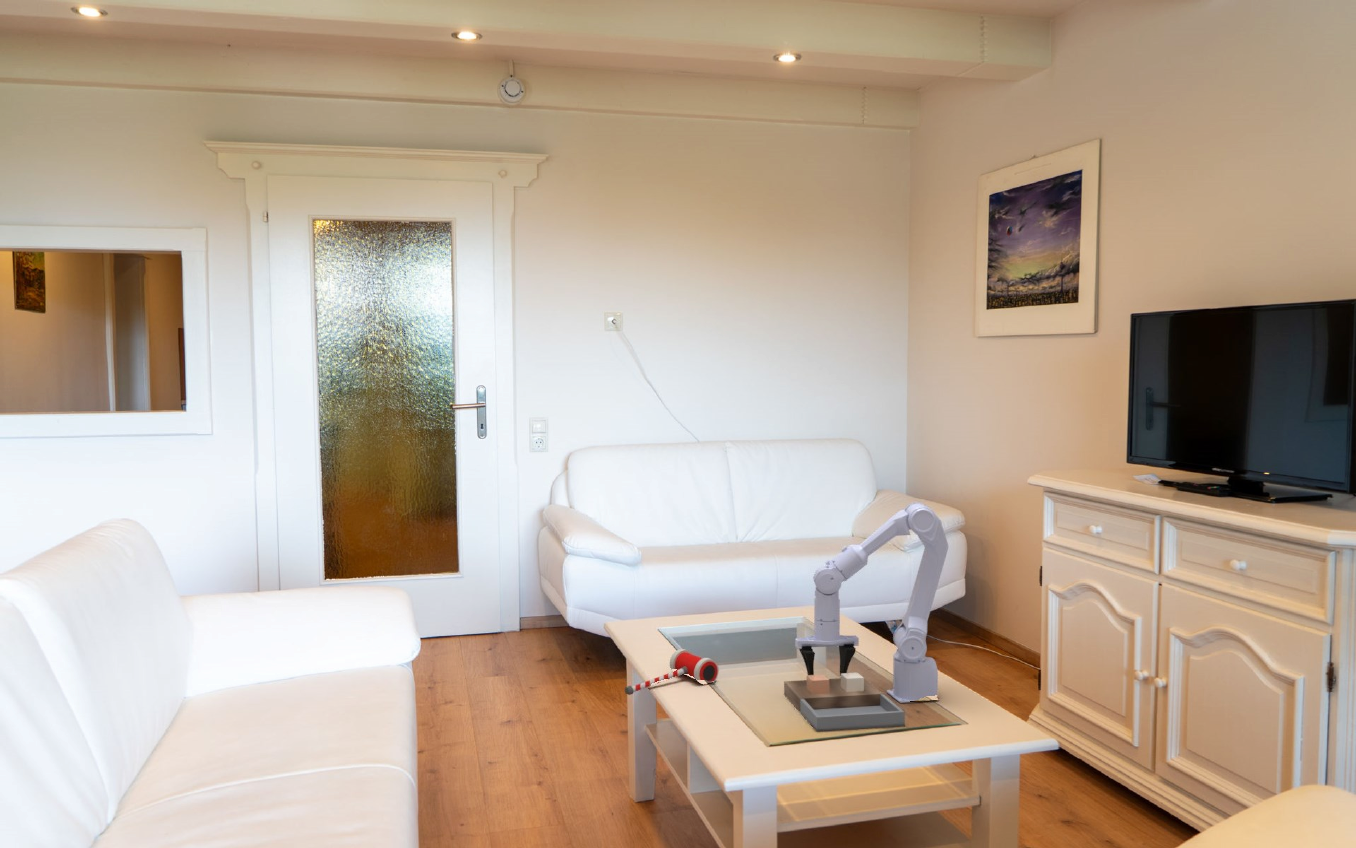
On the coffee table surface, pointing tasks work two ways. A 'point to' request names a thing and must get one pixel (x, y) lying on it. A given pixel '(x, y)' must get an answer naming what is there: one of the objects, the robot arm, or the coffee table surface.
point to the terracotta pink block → (817, 684)
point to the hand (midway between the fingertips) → (826, 677)
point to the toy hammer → (684, 669)
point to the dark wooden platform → (832, 695)
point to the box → (854, 716)
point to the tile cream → (852, 682)
